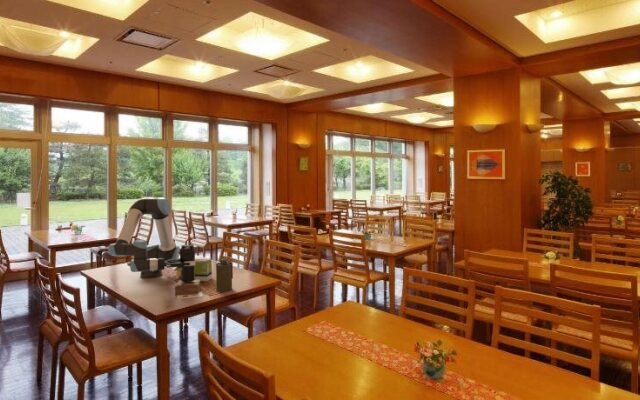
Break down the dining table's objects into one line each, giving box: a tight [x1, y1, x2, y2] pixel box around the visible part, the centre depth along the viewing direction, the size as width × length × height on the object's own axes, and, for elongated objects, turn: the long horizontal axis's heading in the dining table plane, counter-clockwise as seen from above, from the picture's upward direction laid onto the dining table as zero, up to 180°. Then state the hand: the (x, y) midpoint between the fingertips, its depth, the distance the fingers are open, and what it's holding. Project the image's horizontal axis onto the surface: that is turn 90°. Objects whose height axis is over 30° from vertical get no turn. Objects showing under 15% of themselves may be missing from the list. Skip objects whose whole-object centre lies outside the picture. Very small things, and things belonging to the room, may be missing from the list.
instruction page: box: [176, 291, 203, 300], centre depth 250 cm, size 10×15×1 cm, turn 109°
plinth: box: [174, 279, 202, 297], centre depth 257 cm, size 14×14×6 cm
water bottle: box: [179, 244, 197, 282], centre depth 256 cm, size 10×10×23 cm
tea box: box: [195, 258, 213, 282], centre depth 286 cm, size 15×10×15 cm
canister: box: [215, 258, 234, 293], centre depth 262 cm, size 11×10×20 cm
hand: (194, 261), depth 258 cm, fingers closed on water bottle, 9 cm apart
